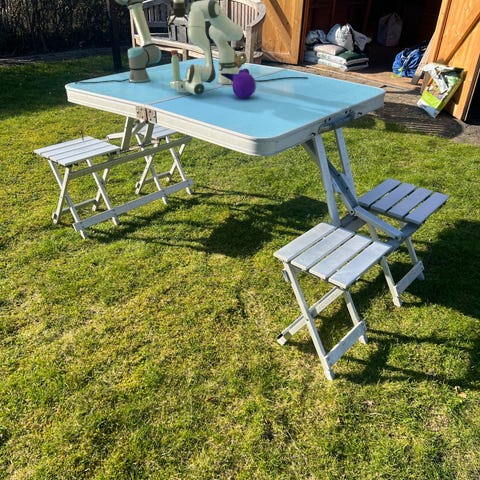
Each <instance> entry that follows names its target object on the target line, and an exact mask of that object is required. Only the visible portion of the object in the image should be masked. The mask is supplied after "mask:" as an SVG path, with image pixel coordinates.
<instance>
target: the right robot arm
mask: <svg viewBox="0 0 480 480" xmlns="http://www.w3.org/2000/svg"><path fill="white" fill-rule="evenodd" d="M185 11H186V12H187V13H186V17H187V18H188V21H187V38H188V40H189V41H190V42H191V43H192V44H193V45H195V47H196V46H197V47H198V48H199V49H201V50H202V52H203V55H204V62H205V65H199V64H190V65H189V66H188V67H187V68H186V72H185V78H183V79H181V80H180V81H173V80H172V81H170V88H171V89H173V90H174V91H176V92H184V93H185V92H186V93H190V94H192V95H194V96H200V95H202V94H204V92H205V85H204V83H207V84H211V83H212V82H214V81H215V80H216V76H217V75H216V69H215V64H214V57H213V50H212V44H211V40H212V41H213V42H214V43H215V45H216V49H217V52H218V79H217V83H218V84H220V85H221V84H222V85H233V82H232V81H231V80H230V79H228V78H226V77H224V76H222V75H221V73H231V74H238V73H239V70H241V68H238V67H237V66H236V65H239V62H235V61H234V51H235V49H234V48H233V47H232V46H230V44H229V43H228V42H237V41H241V40H242V39H243V37H244V30H243V27H242V26H241V25H240V24H238V23H236V22H234V21H233V20H231V19H230V18H229V17H228V16H227V15H226V13H225V12H224V10H223V8H222V7H221V5H220V4H219V2H218V1H217V0H198V1H191V2H189V3H188V4H187V6H186V8H185ZM206 20H207V21H209V23H210V26H209V27H208V35H209V37H210V39H211V40H210V39H209V38H208V37H207V33H206ZM285 79H286V80H288V79H304V80H305V79H307V80H308V79H309V77H307V76H285V77H277V78H269V79H259V80H257V79H255V82H256V83H258V82H259V83H262V82H270V81H271V82H272V81H277V80H285Z"/></svg>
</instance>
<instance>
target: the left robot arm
mask: <svg viewBox="0 0 480 480" xmlns="http://www.w3.org/2000/svg"><path fill="white" fill-rule="evenodd" d="M114 1H115V2H116V3H117V4H119V5H121V6H124V5H126V7H127V9H128V10H130V13H131V16H132V19H133V23H134V25H135V29H136V32H137V34H138V35H137V36H138V38H139V41H140V45H139V46H133V47H130V48H129V49H127V57H128V66H129V76H128V78H126V79H121V80H120V79H119V80H117V79H111V80H101V81H81V80H79V81H75V82H74V83H75V84H76V85H77V84H79V83H80V84H100V83H111V82H117V83H118V82H119V83H121V82H127V81H128V82H129V83H133V84H141V83H148V82H150V76H149V74H148V71H147V67H146V66H147V65H155V64H157V63H159V62H160V61H161V59H162V50H161V48H160V47H159V46H157V45H156V43H155V41H153V39H152V36H151V32H150V29H149V26H148V23H147V20H146V16H145V13H144V10H143V6H144V0H114ZM172 1H173V10H169V14H168V17H167V20H166V23H165V27H166V26H167V27H168V32H169V33H170V37H171V38H173V29H172V24H173V23H174V21H175V20H176V19H180V18H181V19H183V18H184V19H185V21H187V22H188V16H187V15H186V14H187V12H186V5H185V0H172ZM172 15H174V16H173V18H172V19H171V17H172ZM170 19H171V21H170ZM75 84H74V85H75ZM80 134H81V139H82V141H83V142H84V141H85V140H84V134H83V129H82V128H80Z"/></svg>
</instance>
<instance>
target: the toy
mask: <svg viewBox="0 0 480 480" xmlns="http://www.w3.org/2000/svg"><path fill="white" fill-rule="evenodd" d="M221 75H222V76H224V77H226V78H228V79H230V80H231V81H232V82H233V84H231V85H232V91H233V94H234V95H235V96H237V97H238V98H240V99H250V97H252V96H253V95H254V94H255V92H256V90H257V82H256V81H255V80H256V79H255V78H254V76H253V75H252V74H250V70H249V68H242V69H240V70H239V73H238V74H231V73H221Z"/></svg>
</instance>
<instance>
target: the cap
mask: <svg viewBox="0 0 480 480" xmlns="http://www.w3.org/2000/svg"><path fill="white" fill-rule="evenodd" d="M170 54H171V55H177V56H178V55H179V51H178V49H172V50H170Z"/></svg>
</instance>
